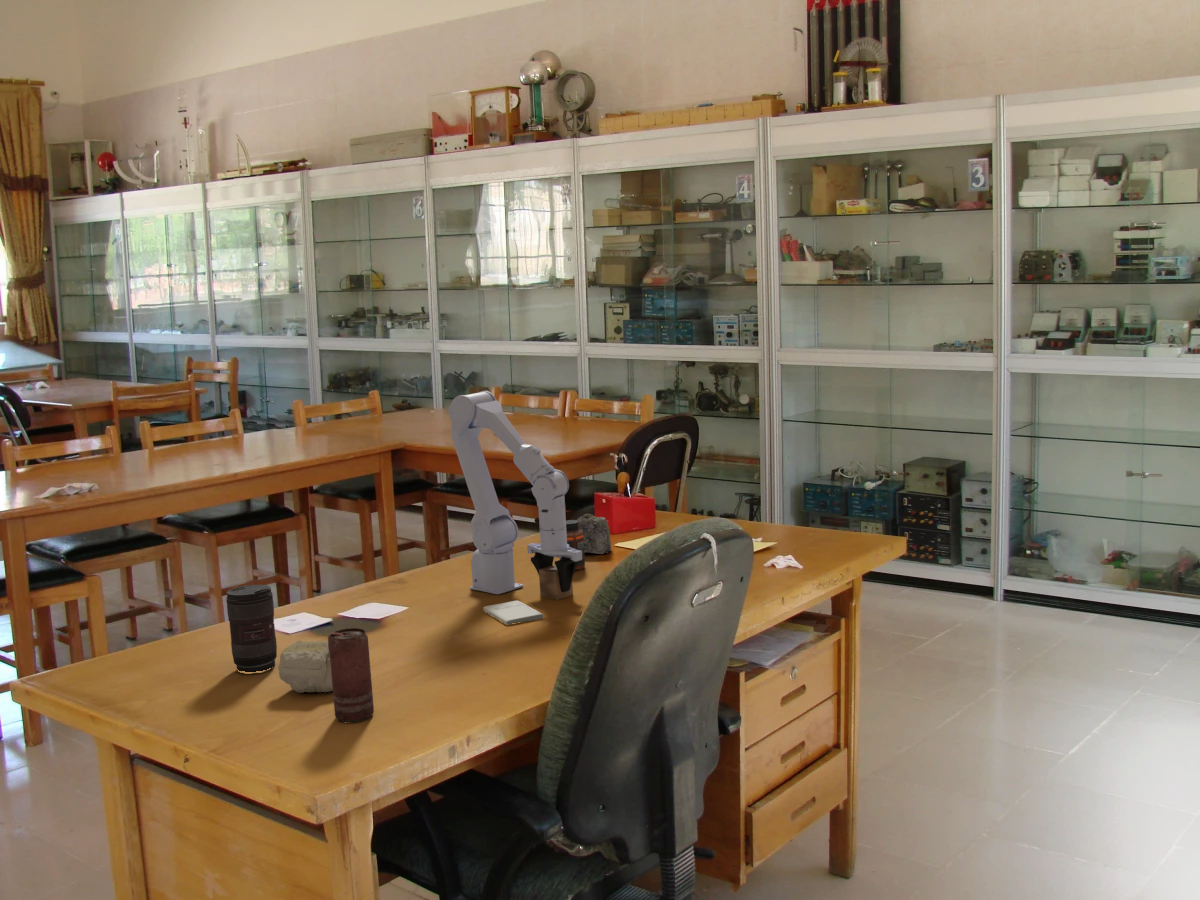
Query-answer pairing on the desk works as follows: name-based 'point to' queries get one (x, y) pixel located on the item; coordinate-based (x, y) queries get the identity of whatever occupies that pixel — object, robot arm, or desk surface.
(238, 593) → the camera lens
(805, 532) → the desk surface
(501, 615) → the external hard drive
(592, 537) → the mineral rock
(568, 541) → the supplement bottle
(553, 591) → the walnut block
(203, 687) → the desk surface
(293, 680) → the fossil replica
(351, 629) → the can
